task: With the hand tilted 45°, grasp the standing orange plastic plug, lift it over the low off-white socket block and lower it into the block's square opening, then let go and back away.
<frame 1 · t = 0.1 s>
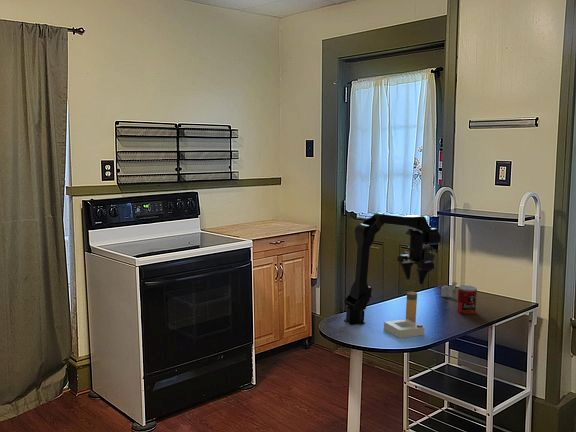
hand: (414, 281, 241), 15 cm above the table, tool pointing down, fingers open, 9 cm apart
socket block: (403, 332, 221), on the table
canned food: (466, 312, 250), on the table
plug: (410, 324, 231), on the table
lighter: (448, 297, 275), on the table
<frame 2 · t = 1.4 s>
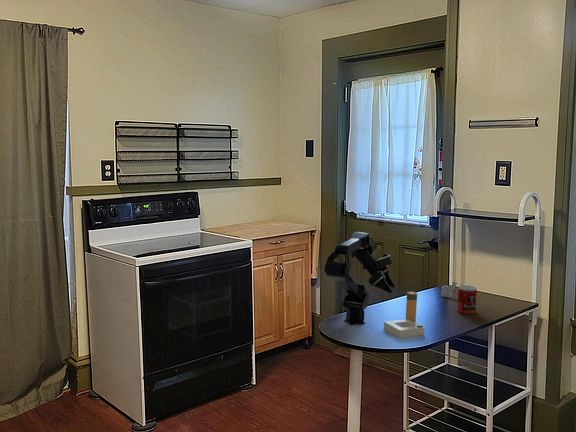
hand: (392, 289, 231), 14 cm above the table, tool tilted 45°, fingers open, 9 cm apart
nothing on the table moved.
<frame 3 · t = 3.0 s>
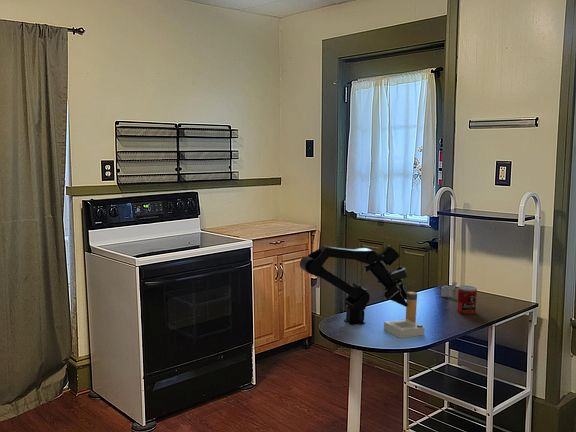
hand: (408, 303, 230), 9 cm above the table, tool tilted 45°, fingers open, 9 cm apart
nothing on the table moved.
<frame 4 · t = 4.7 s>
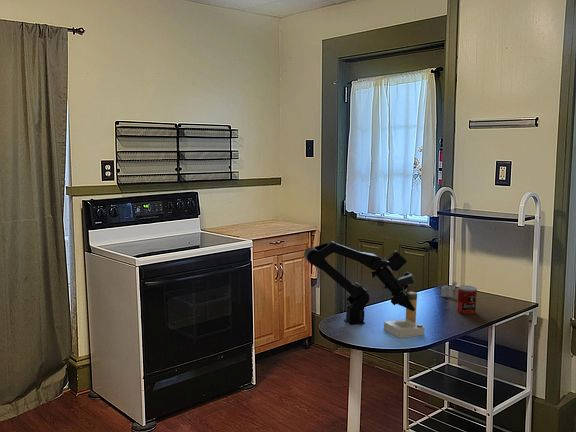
hand: (414, 309, 230), 7 cm above the table, tool tilted 45°, fingers closed on plug, 4 cm apart
plug: (410, 324, 231), on the table, touching gripper
everything else where it was.
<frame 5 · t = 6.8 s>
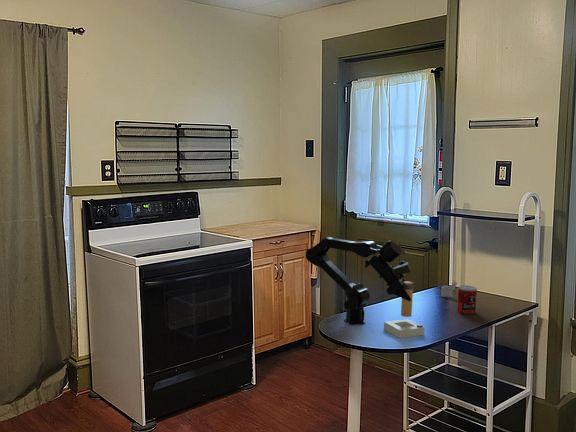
hand: (410, 299, 222), 13 cm above the table, tool tilted 45°, fingers closed on plug, 4 cm apart
plug: (406, 315, 223), point 6 cm above the table, touching gripper
everything else where it was.
when the fingers open (8 cm above the table, at t = 9.0 s): plug drops 1 cm, resting in socket block.
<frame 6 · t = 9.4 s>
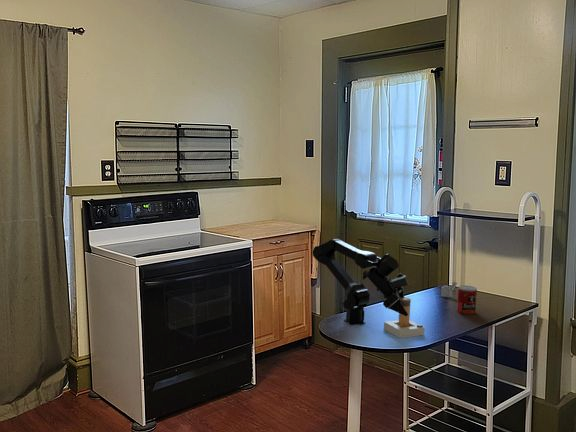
hand: (408, 312, 220), 8 cm above the table, tool tilted 45°, fingers open, 9 cm apart
plug: (403, 332, 221), resting in socket block
everything else where it was.
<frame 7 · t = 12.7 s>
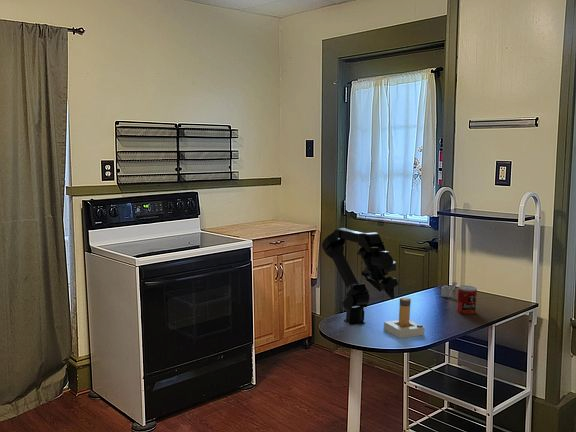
hand: (386, 294, 229), 12 cm above the table, tool tilted 30°, fingers open, 9 cm apart
nothing on the table moved.
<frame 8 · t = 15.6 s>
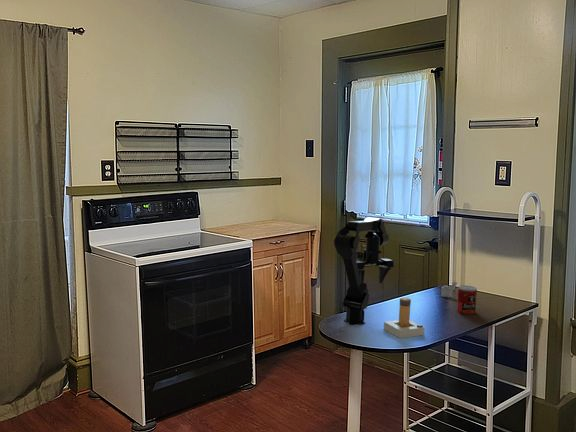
hand: (371, 284, 242), 13 cm above the table, tool pointing down, fingers open, 9 cm apart
nothing on the table moved.
at the end: plug 0.1 cm off-centre on the socket block, point 0.0 cm above the socket block's base; plug tilted 0°; the gripper is holding nothing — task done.
